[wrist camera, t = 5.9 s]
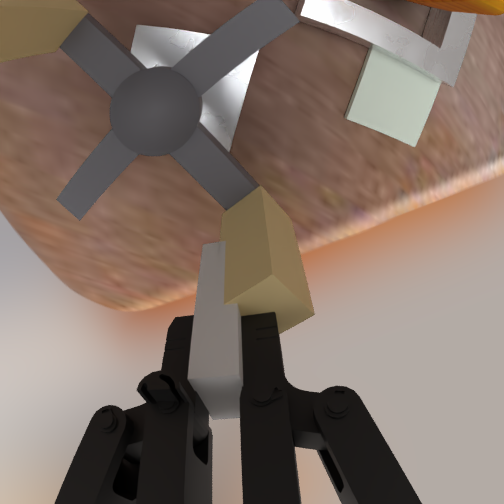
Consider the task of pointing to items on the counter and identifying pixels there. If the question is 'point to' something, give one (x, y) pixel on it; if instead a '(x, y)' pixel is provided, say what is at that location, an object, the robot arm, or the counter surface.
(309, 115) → the counter surface
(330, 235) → the counter surface
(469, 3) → the carrot
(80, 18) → the handwheel
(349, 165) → the counter surface
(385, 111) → the pad
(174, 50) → the square base pedestal
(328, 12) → the gray square frame
